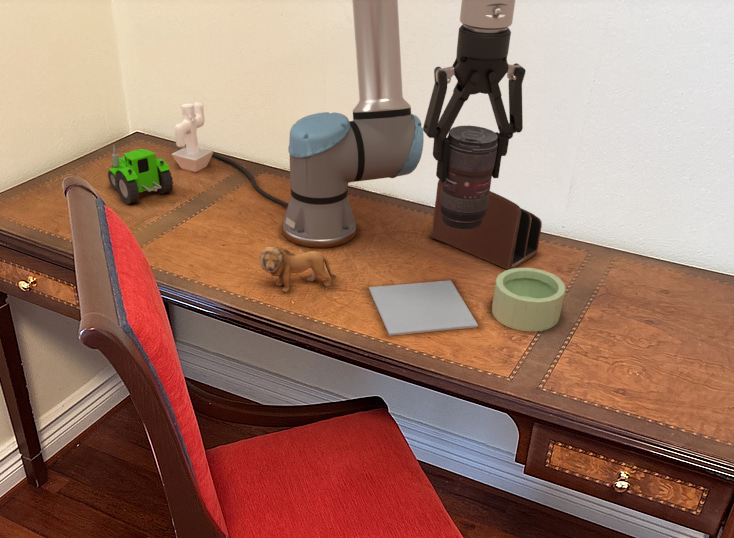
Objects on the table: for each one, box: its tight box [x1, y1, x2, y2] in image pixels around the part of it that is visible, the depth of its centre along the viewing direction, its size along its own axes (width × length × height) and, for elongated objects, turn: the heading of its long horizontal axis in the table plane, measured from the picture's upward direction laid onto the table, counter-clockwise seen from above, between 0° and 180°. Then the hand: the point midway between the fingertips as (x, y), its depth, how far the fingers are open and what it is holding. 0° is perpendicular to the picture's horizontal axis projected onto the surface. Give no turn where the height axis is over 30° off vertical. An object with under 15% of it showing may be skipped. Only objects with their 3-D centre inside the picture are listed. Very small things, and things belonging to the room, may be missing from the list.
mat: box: [368, 279, 479, 337], centre depth 144 cm, size 16×16×1 cm
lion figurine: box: [259, 245, 337, 293], centre depth 147 cm, size 15×5×9 cm, turn 114°
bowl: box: [491, 267, 567, 332], centre depth 142 cm, size 12×12×6 cm
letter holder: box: [430, 179, 543, 271], centre depth 160 cm, size 10×20×14 cm, turn 47°
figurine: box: [170, 101, 215, 173], centre depth 188 cm, size 7×9×15 cm
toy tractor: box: [107, 143, 174, 205], centre depth 178 cm, size 11×16×10 cm
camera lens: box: [440, 125, 498, 230], centre depth 129 cm, size 8×8×15 cm
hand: (467, 176), depth 129 cm, fingers closed on camera lens, 8 cm apart
